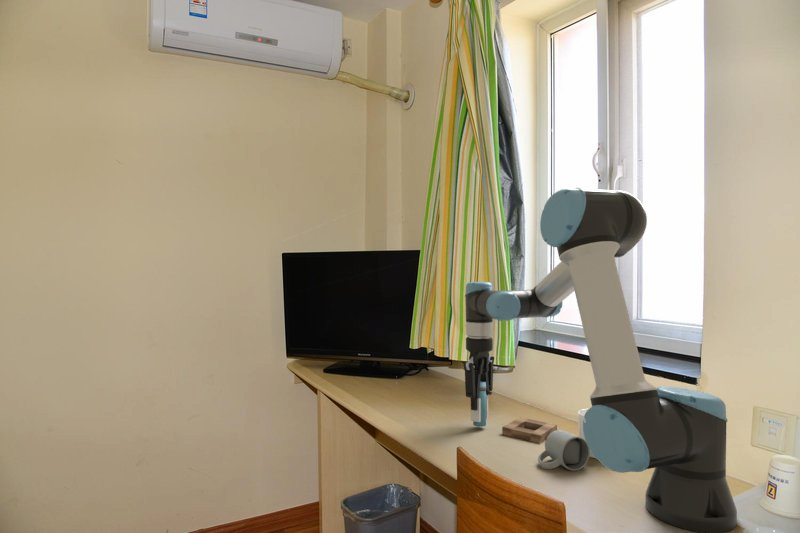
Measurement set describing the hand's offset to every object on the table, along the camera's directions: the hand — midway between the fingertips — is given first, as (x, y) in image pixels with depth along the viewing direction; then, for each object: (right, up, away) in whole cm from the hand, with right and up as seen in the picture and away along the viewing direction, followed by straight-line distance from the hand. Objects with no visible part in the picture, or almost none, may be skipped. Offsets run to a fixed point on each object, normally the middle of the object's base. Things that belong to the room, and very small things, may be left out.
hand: (479, 419), depth 148 cm
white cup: (+25, -3, -19) cm, 32 cm away
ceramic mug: (+15, -3, -26) cm, 30 cm away
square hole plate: (+13, -3, -4) cm, 14 cm away
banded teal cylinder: (0, -2, 0) cm, 2 cm away
